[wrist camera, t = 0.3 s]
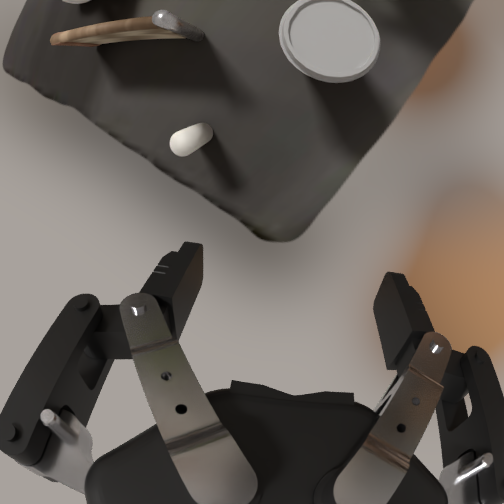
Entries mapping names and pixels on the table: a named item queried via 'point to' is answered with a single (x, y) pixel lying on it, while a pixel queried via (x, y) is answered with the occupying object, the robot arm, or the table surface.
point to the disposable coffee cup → (329, 39)
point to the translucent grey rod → (177, 25)
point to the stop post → (190, 139)
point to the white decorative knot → (76, 1)
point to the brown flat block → (113, 33)
